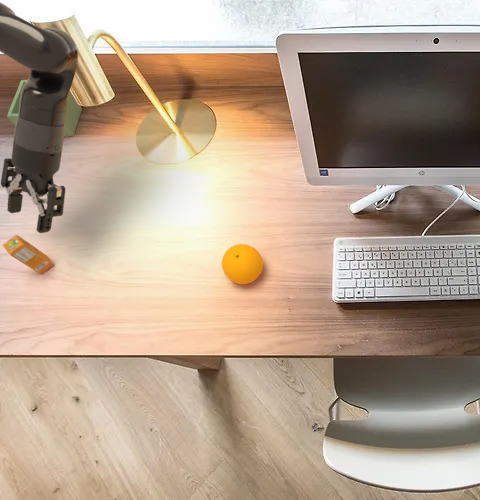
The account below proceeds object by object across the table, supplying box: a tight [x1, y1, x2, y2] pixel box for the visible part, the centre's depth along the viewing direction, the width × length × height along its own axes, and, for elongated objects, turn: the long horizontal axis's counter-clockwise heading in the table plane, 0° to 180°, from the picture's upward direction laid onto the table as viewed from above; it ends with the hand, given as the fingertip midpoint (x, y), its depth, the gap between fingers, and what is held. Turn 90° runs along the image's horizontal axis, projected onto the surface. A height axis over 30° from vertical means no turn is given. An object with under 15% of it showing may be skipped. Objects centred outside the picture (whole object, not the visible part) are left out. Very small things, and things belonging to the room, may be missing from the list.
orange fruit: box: [221, 243, 264, 285], centre depth 97 cm, size 8×8×8 cm
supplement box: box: [2, 234, 55, 275], centre depth 99 cm, size 3×3×10 cm
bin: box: [6, 79, 83, 138], centre depth 119 cm, size 12×12×8 cm
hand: (28, 221), depth 95 cm, fingers open, 8 cm apart
